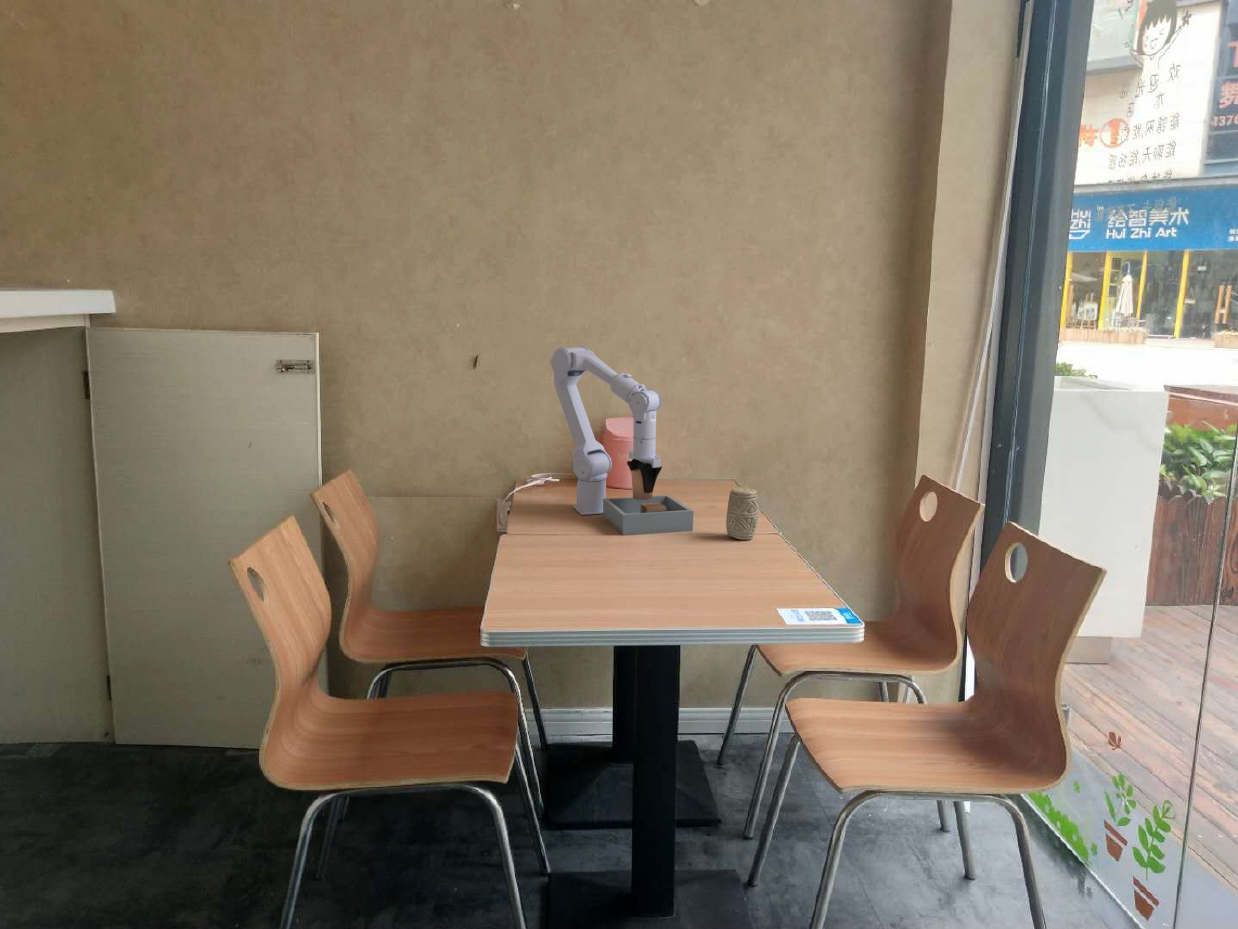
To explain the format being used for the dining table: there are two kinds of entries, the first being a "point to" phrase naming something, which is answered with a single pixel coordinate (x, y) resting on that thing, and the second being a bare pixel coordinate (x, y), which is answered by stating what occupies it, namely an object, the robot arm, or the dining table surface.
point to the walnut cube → (652, 507)
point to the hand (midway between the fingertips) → (643, 490)
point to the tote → (647, 515)
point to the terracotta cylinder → (638, 486)
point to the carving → (742, 513)
